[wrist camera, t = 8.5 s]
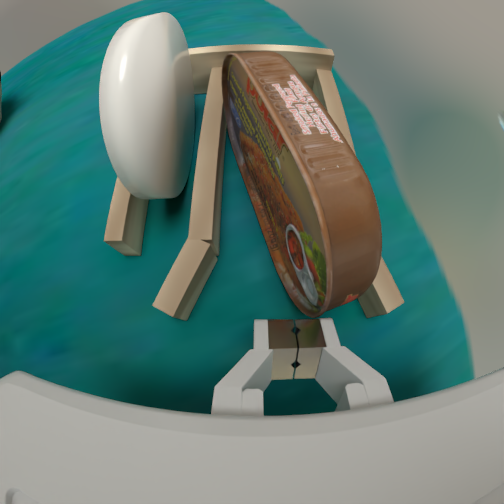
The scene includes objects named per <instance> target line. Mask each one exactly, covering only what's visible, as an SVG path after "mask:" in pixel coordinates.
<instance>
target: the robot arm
mask: <svg viewBox="0 0 504 504" xmlns="http://www.w3.org/2000/svg"><path fill="white" fill-rule="evenodd" d="M293 373H294V379H305V378H315V379H316V381H317V382H318V383H319V384H320V385H321V386H322V387H323V389H324V390H325V391H326V392H327V393H328V394H329V395H330V396H331V398H332V399H333V400H334V401H335V402H336V403H337V404H338V405H337V407H336V409H335V412H328V413H317V414H304V415H285V416H264V413H263V392H264V391H265V389H266V388H267V386H268V385H269V383H270V382H271V380H280V379H292V378H293ZM0 504H504V367H503V368H501V369H499V370H496V371H494V372H491V373H489V374H486V375H484V376H481V377H479V378H476V379H473V380H471V381H468V382H465V383H462V384H459V385H456V386H453V387H450V388H447V389H443V390H440V391H437V392H433V393H430V394H426V395H422V396H418V397H414V398H410V399H406V400H402V401H397V402H394V400H393V397H392V395H391V392H390V389H389V386H388V383H387V381H386V378H385V377H383V376H382V375H381V374H380V373H378V372H377V371H376V370H374V369H373V368H372V367H370V366H369V365H368V364H367V363H365V362H364V361H363V360H361V359H360V358H359V357H358V356H356V355H355V354H354V353H352V352H351V351H350V350H349V349H347V348H346V347H345V346H341V345H340V342H339V338H338V335H337V332H336V329H335V326H334V323H333V319H332V318H319V319H298V320H294V321H293V320H274V319H268V321H267V320H262V319H255V320H254V349H250V350H249V351H248V352H247V353H246V354H245V355H244V356H243V357H242V358H241V360H240V361H239V362H238V363H237V364H236V365H235V366H234V367H233V368H232V369H231V370H230V371H229V372H228V373H227V374H226V375H225V376H224V377H223V379H222V380H221V381H220V382H219V383H218V384H217V385H216V386H215V388H214V395H213V402H212V410H211V414H202V413H191V412H182V411H174V410H166V409H159V408H153V407H147V406H141V405H136V404H131V403H126V402H121V401H116V400H112V399H108V398H103V397H99V396H95V395H92V394H88V393H84V392H81V391H77V390H74V389H71V388H67V387H64V386H61V385H58V384H55V383H52V382H49V381H46V380H44V379H41V378H38V377H36V376H33V375H31V374H28V373H26V372H23V371H15V372H12V373H10V374H8V375H6V376H4V377H3V378H1V379H0Z"/></svg>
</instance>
